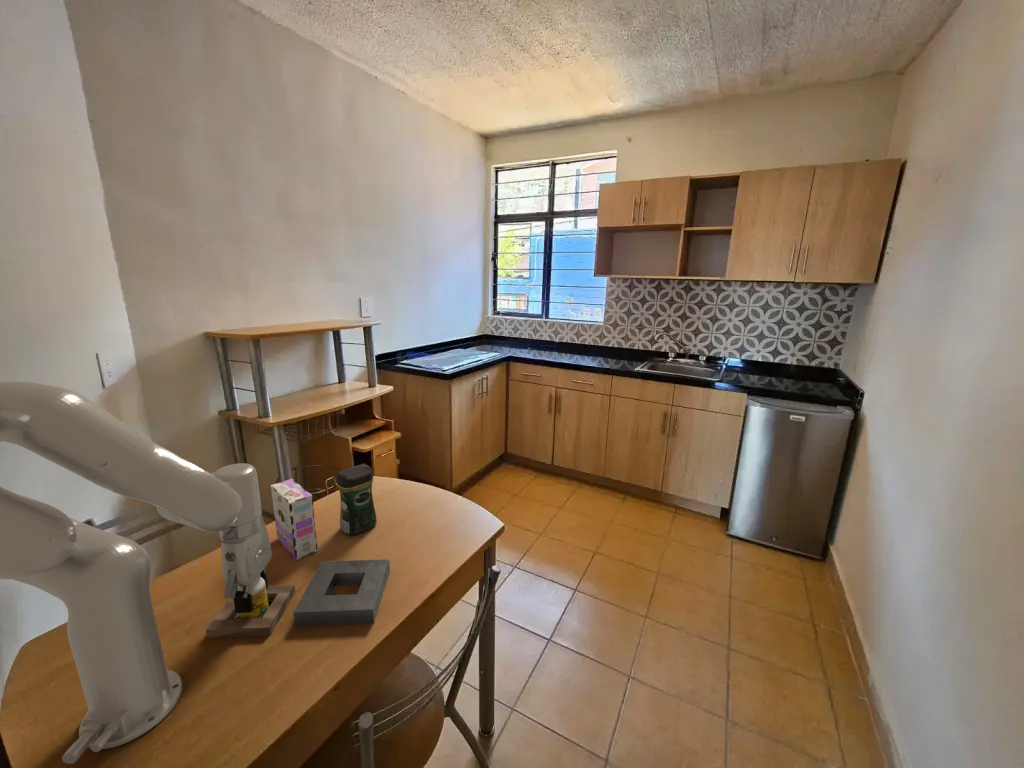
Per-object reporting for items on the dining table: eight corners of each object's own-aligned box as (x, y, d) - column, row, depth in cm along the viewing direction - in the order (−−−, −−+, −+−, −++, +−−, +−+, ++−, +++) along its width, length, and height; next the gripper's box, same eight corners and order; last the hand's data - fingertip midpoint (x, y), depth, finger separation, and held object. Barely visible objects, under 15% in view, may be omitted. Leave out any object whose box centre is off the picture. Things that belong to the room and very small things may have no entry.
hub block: (374, 623, 87) (373, 609, 86) (295, 626, 86) (293, 612, 85) (389, 571, 102) (389, 559, 102) (323, 573, 101) (321, 561, 100)
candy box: (319, 551, 109) (313, 495, 106) (295, 561, 105) (288, 503, 101) (298, 530, 119) (292, 477, 115) (276, 538, 114) (269, 484, 110)
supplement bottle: (268, 600, 92) (263, 563, 90) (270, 616, 88) (264, 577, 86) (239, 610, 89) (233, 572, 87) (239, 627, 85) (233, 587, 83)
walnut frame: (270, 635, 83) (268, 627, 83) (207, 638, 82) (205, 629, 82) (295, 592, 95) (294, 584, 95) (240, 594, 94) (239, 586, 94)
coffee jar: (367, 515, 127) (363, 458, 122) (380, 525, 122) (377, 467, 117) (336, 528, 120) (330, 468, 115) (349, 539, 115) (344, 478, 110)
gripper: (237, 550, 76) (249, 632, 80) (280, 502, 92) (288, 572, 97) (193, 552, 75) (208, 634, 79) (245, 503, 92) (255, 573, 96)
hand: (252, 599), depth 88 cm, fingers closed on supplement bottle, 5 cm apart
